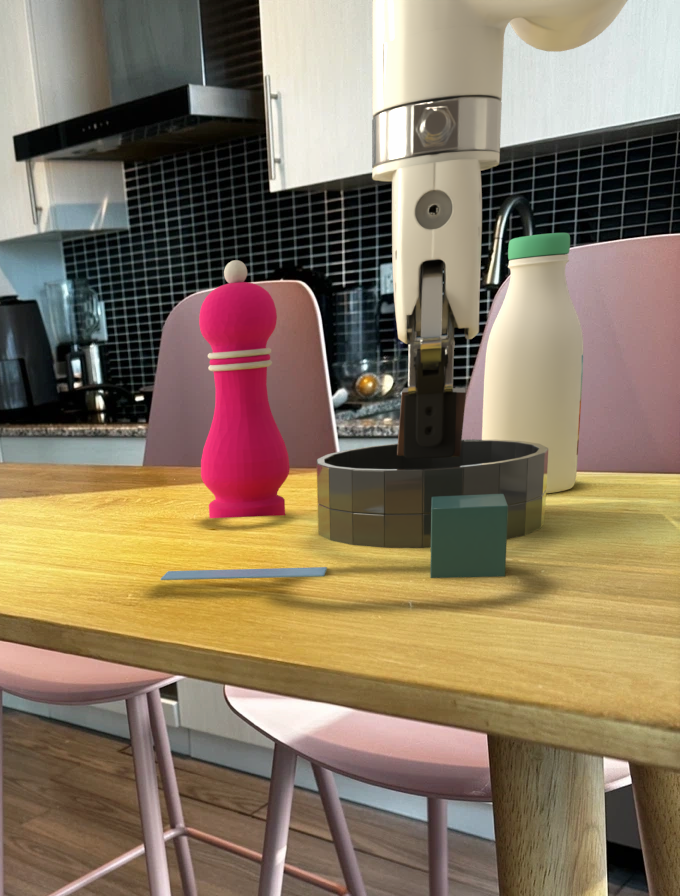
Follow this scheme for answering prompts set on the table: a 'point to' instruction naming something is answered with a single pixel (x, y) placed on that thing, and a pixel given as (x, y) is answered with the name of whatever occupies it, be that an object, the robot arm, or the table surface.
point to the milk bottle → (537, 358)
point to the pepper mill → (242, 402)
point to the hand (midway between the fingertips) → (429, 449)
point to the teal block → (468, 536)
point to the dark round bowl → (425, 490)
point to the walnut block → (459, 421)
